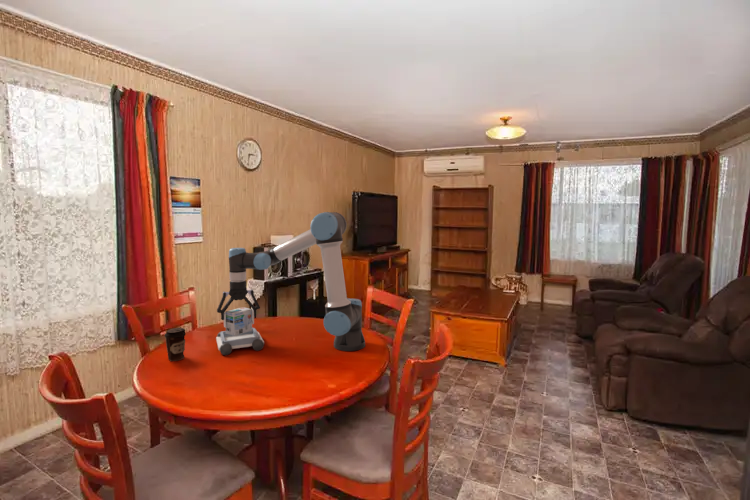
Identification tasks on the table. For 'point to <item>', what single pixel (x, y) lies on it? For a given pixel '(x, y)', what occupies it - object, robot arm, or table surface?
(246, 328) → the light bulb box
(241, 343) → the chassis
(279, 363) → the table surface
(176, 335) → the coffee cup
